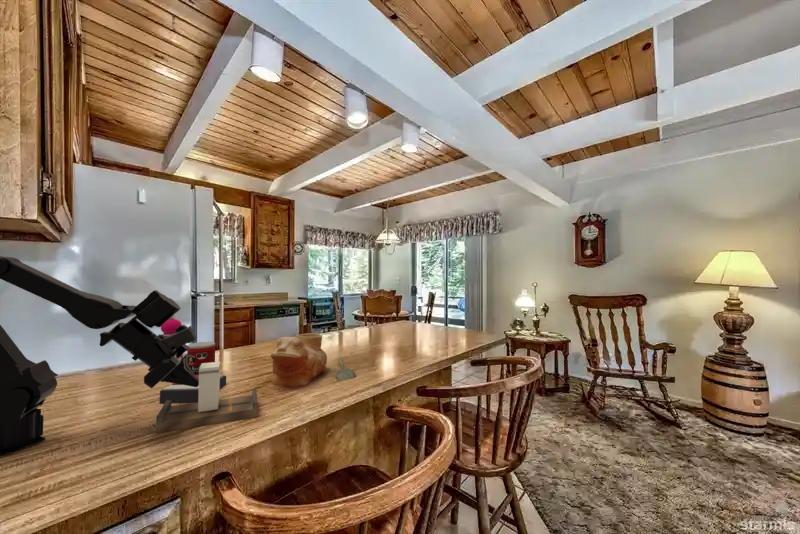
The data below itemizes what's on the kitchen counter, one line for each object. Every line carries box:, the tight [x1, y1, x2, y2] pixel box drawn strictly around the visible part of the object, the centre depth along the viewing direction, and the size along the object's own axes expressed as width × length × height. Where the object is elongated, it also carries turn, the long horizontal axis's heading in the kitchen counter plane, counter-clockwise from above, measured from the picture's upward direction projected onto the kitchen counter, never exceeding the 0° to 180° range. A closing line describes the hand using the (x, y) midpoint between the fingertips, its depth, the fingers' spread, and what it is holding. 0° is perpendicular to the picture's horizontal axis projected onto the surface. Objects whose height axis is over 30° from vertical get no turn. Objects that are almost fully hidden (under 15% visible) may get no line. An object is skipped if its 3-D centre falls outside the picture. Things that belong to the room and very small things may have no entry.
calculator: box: [159, 374, 227, 405], centre depth 95 cm, size 11×4×15 cm
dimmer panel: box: [155, 388, 259, 434], centre depth 80 cm, size 20×10×4 cm, turn 115°
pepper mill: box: [160, 314, 184, 358], centre depth 114 cm, size 7×7×20 cm
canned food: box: [186, 341, 216, 375], centre depth 109 cm, size 8×8×11 cm
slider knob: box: [198, 361, 221, 412], centre depth 80 cm, size 4×5×10 cm
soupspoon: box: [335, 358, 356, 381], centre depth 118 cm, size 22×3×7 cm
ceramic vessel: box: [270, 332, 328, 388], centre depth 110 cm, size 14×26×15 cm, turn 170°
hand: (198, 385), depth 79 cm, fingers closed, pressing on slider knob
